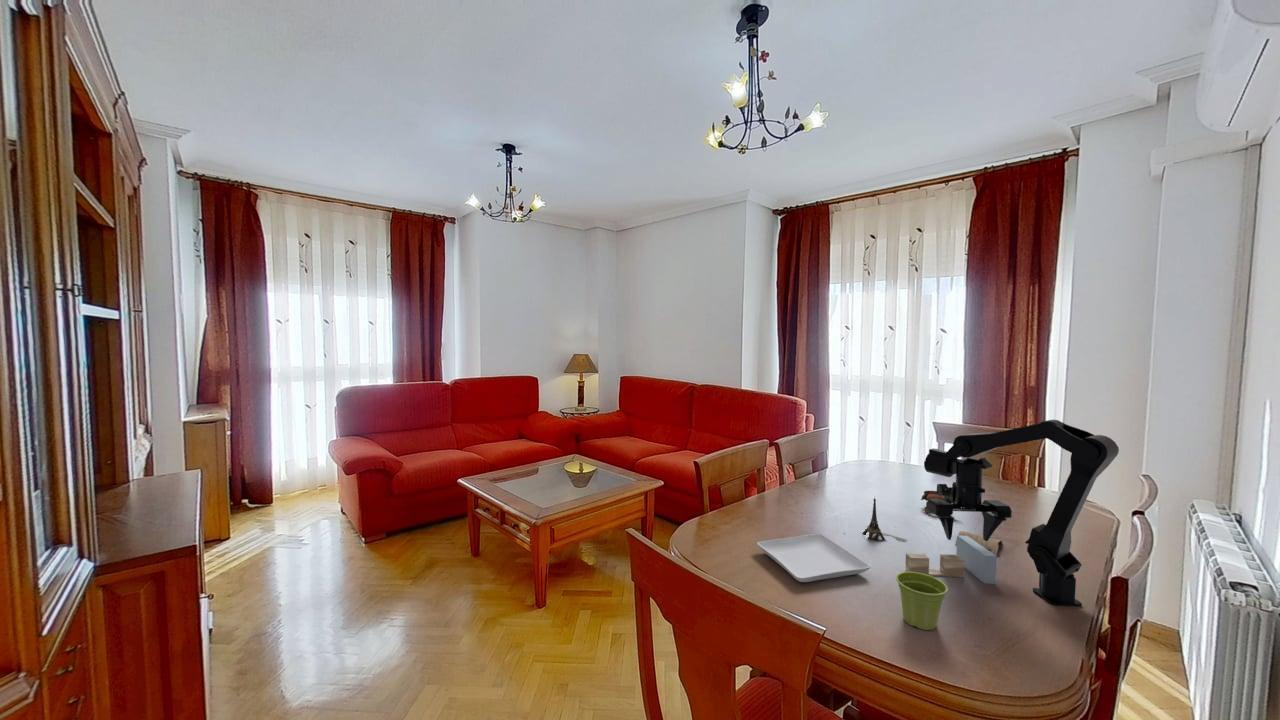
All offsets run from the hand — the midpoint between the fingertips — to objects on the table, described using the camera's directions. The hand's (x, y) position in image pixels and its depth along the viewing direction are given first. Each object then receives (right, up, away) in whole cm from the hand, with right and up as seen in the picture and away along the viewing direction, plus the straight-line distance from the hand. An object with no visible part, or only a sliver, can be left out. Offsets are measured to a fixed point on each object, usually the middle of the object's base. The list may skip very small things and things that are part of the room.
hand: (967, 539), depth 129 cm
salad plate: (-41, -7, +1) cm, 42 cm away
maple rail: (-12, -7, -5) cm, 14 cm away
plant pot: (-27, -8, -25) cm, 38 cm away
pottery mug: (+16, -5, +38) cm, 42 cm away
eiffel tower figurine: (-16, -6, +18) cm, 25 cm away
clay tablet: (+12, -7, +13) cm, 19 cm away
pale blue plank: (0, -7, -3) cm, 8 cm away
